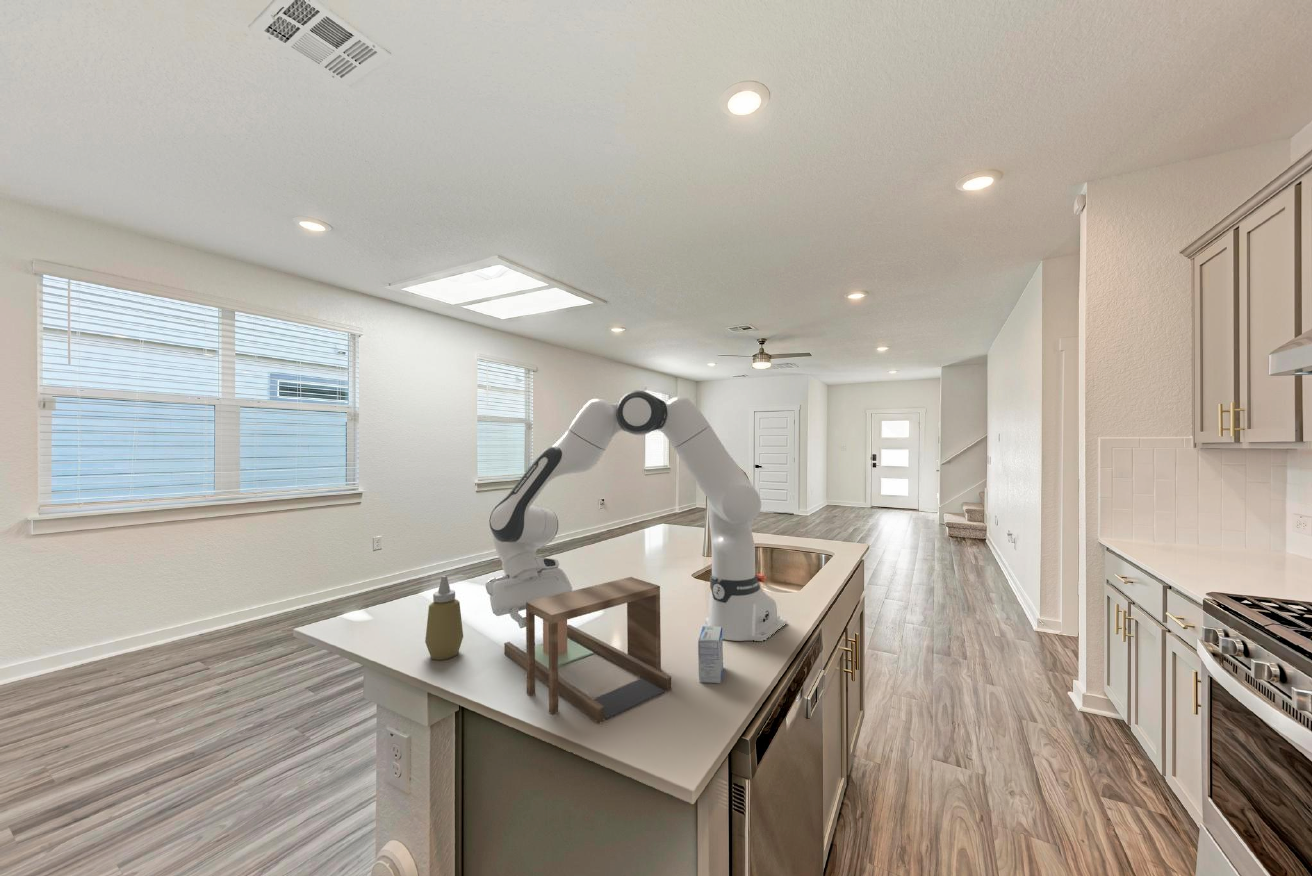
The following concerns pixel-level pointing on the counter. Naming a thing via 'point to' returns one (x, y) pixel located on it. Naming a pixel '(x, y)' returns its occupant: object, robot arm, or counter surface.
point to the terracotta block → (561, 637)
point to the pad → (572, 654)
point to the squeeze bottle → (444, 623)
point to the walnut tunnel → (584, 601)
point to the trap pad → (628, 697)
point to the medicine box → (710, 654)
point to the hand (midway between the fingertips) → (542, 621)
